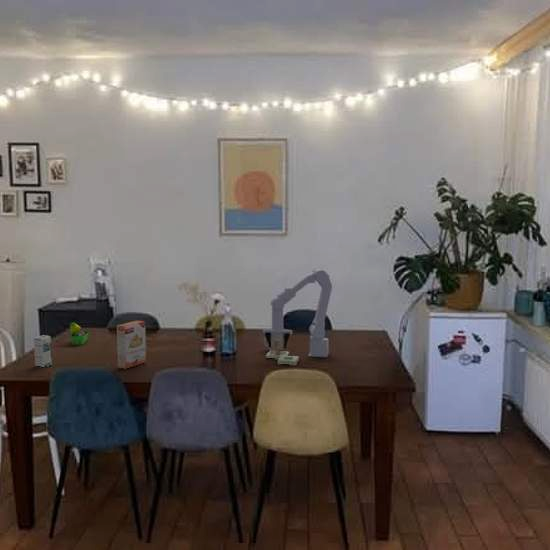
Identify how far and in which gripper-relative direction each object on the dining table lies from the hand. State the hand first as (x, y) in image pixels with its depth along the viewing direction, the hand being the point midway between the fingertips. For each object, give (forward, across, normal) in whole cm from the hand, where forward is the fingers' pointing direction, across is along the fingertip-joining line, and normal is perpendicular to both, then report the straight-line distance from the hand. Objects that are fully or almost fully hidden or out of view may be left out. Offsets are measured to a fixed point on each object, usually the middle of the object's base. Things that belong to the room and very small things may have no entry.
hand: (277, 347), depth 345 cm
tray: (+5, 0, 0) cm, 5 cm away
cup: (+5, +5, -13) cm, 15 cm away
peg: (+4, 0, 0) cm, 4 cm away
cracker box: (+5, +66, +28) cm, 72 cm away
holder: (+5, -7, +9) cm, 12 cm away
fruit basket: (+5, +113, -10) cm, 114 cm away
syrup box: (+5, +108, +36) cm, 114 cm away
